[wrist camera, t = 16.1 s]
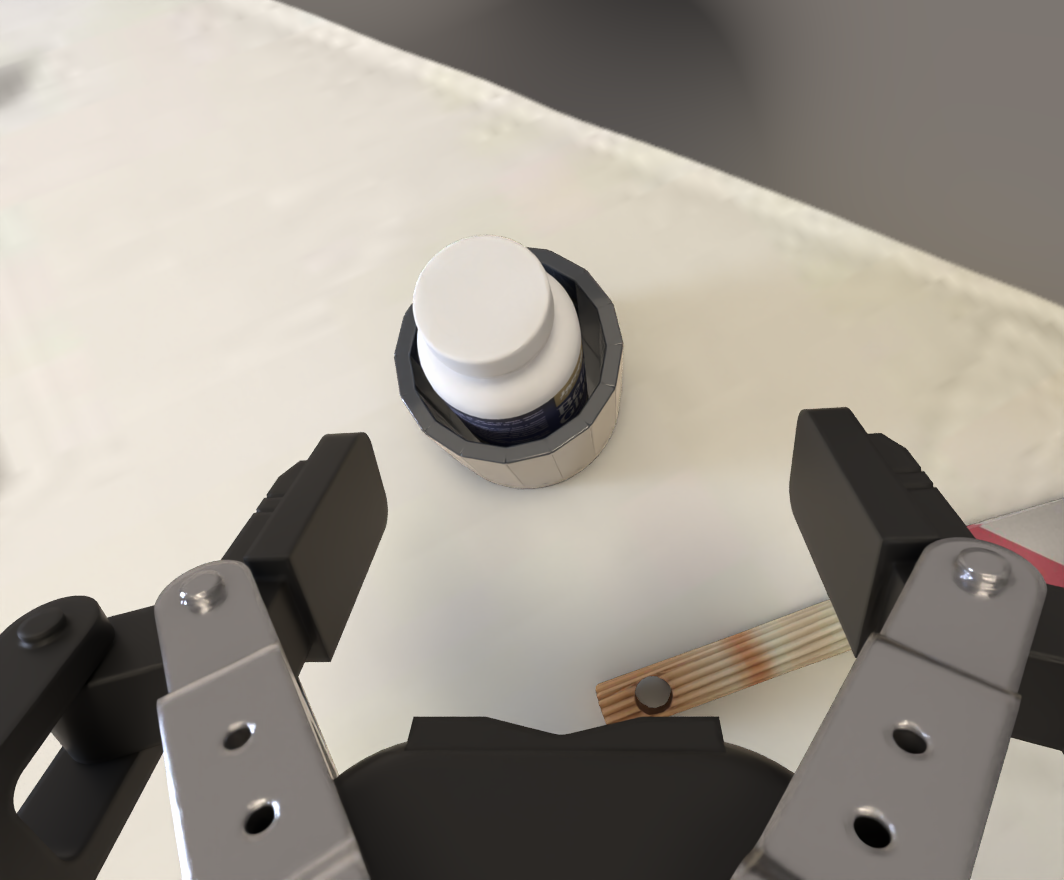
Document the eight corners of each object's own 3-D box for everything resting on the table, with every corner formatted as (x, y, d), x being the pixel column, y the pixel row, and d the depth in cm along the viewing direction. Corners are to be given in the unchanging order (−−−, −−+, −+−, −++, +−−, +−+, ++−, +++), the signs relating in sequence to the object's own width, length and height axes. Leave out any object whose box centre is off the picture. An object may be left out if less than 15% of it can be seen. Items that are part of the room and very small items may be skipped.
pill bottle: (592, 455, 27) (580, 382, 17) (464, 463, 27) (384, 396, 18) (585, 333, 28) (570, 201, 18) (463, 343, 28) (388, 220, 19)
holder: (596, 295, 29) (592, 222, 23) (639, 465, 27) (646, 432, 21) (426, 337, 30) (380, 275, 24) (455, 506, 28) (413, 485, 22)
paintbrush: (1202, 573, 21) (620, 771, 22) (1138, 574, 23) (622, 750, 25) (1134, 463, 22) (581, 661, 23) (1081, 476, 24) (587, 652, 26)
